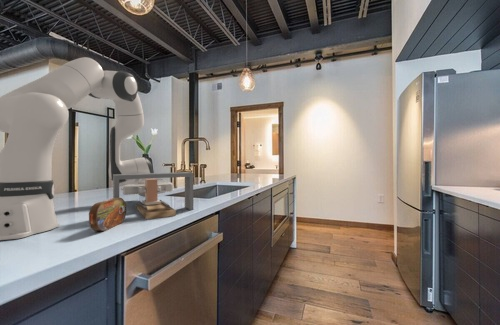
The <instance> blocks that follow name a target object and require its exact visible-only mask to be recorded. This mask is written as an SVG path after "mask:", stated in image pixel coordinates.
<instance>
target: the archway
mask: <svg viewBox="0 0 500 325" xmlns="http://www.w3.org/2000/svg"><path fill="white" fill-rule="evenodd" d="M146 178H153V179H166V178H167V179H168V178H184V208H185V209H187V210H189V211H194V173H193V172H190V171H189V172H185V171H184V172H183V171H182V172H181V171H180V172H156V173H155V172H154V173H146V174H113V181H112V196H113V198H120V183H119V180H122V179H133V180H135V179H146Z"/></svg>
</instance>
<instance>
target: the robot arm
mask: <svg viewBox="0 0 500 325" xmlns="http://www.w3.org/2000/svg"><path fill="white" fill-rule="evenodd" d="M138 92H139V85H138V81H137V79H136V78H135V77H134V75H133V74H131V73H130V72H128V71H122V70H119V71H118V70H117V71H116V70H103V68H102V66H101V65H100V63H99V62H97V60H94V59H93V58H91V57H88V56H87V57H86V56H84V57H79V58H75V59H73V60H70V61H68V62H66V63H64V64H61V65H60V66H58V67H57V68H55V69H53V70H51V71H50V72H48V73H47V74H45V75H43V76H41V77H39V78H37V79H35V80H32V81H31V82H28V83H26V84H24V85H22V86H19V87H17V88H16V89H14V90H11V91H9V92H8V93H5V94H3V95H2V96H1V95H0V132H1V133H2V132H3V133H5V134H8V136H7V139H6V142H5V144H4V146H3V147H2V149H0V241H4V240H5V241H6V240H8V241H9V240H15V239H16V240H17V239H23V238H26V237H30V236H33V235H35V234H39V233H44V232H47V231H50V230H53V229H56V228H58V227H59V226H60V223H59V221H58V219H57V218H58V217H57V215H56V211H55V205H54V200H53V199H54V197H55V184H54V180H53V179H52V176H53V175H52V174H53V173H52V172H53V171H52V170H53V168H52V165H53V152H54V148H55V144H56V141H57V138H58V135H59V133H60V132H61V130H62V128H63V127H64V126H65V125H66V124H67V122H68V120H69V109H72V108H73V107H75V106H76V105H77V104H78V103H80V102H81V101H82V100H83V99H85V98H86V97H87V96H89V97H91V98H94V99H105V100H112V101H113V103H114V105H115V106H114V108H115V114H116V122H115V124H114V126H112V127H111V128H110V132H109V165H108V177H109V178H110V180H111V181H112V182H113V174H146V173H155V171H154V167H153V164H152V162H151V161H150V160H149V159H148V158H147V157H136V158H131V159H127V160H121V145H122V143H123V141H125V140H126V139H128V138H129V137H131V136H134V135H137V133H139V132H140V131H142V129H143V128H144V126H145V115H144V109H143V104H142V101H141V98H140V95H139V93H138ZM146 179H154V178H146ZM156 179H157V195H159V194H165V193H166V192H167V193H168V192H169V193H171V192H173V190H174V184H173V182H171V181H168V180H166V178H156ZM132 180H133V181H132ZM127 181H132V183H131V184H124V185H122V187H120V190H121V191H122V195H124V196H127V195H139V196H140V197H143V198H145V193H146V192H147V191H146V190H147V189H146V188H145V179H122V180H119V184H123V183H125V182H127Z"/></svg>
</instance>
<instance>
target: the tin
mask: <svg viewBox="0 0 500 325" xmlns="http://www.w3.org/2000/svg"><path fill="white" fill-rule="evenodd" d="M126 214H127V204H126V201H125V200H124V198H122V197H119V198H108V199H106V200H102V201H99V202H95V203H94V204H93V205H92V206H91V207H90V208H89V211H88V223H89V226H90V228H91V229H92V230H93V231H95V232H106V231H109V230H110V229H112V228H114V227H116V226H119V225H121V224H122V223H123V222H124V220H125V219H126Z"/></svg>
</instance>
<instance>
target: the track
mask: <svg viewBox="0 0 500 325" xmlns="http://www.w3.org/2000/svg"><path fill="white" fill-rule="evenodd" d="M159 200H160V201H161V204H153V205H144V204H143V203H142V201H138V203H137V204H136V209H137V211H139V213H140V215H142V217H143V218H144V219H145V220H151V219H160V218H168V217H174V216H176V215H177V212H176V209H174V208H173V207H172V206H170V205H169V204H168V203H167V202H165V201H163V200H162V199H159Z"/></svg>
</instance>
